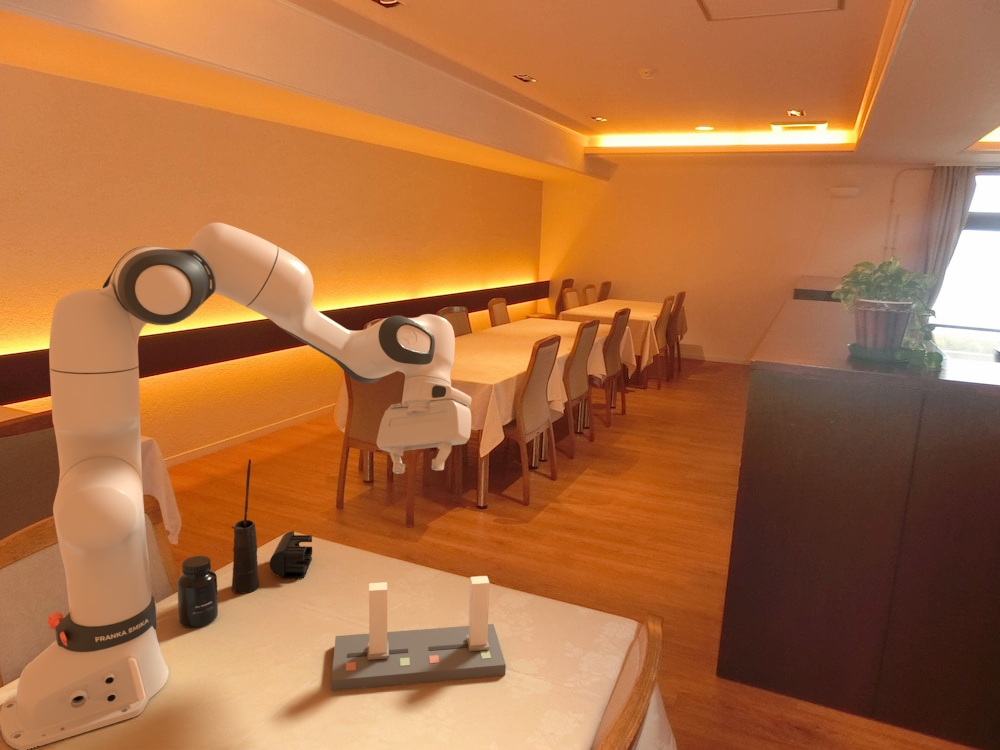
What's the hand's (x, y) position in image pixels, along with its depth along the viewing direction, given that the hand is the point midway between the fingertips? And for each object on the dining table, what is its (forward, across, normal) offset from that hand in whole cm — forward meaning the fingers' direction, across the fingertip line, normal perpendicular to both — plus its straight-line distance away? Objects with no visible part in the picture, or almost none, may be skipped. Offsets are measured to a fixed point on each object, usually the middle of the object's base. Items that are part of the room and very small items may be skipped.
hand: (417, 471), depth 116 cm
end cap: (+17, -44, +11) cm, 49 cm away
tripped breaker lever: (+31, -8, +4) cm, 32 cm away
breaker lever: (+28, +5, +16) cm, 33 cm away
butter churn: (+22, -46, 0) cm, 51 cm away
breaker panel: (+32, -3, +10) cm, 33 cm away
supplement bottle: (+28, -43, -9) cm, 52 cm away
